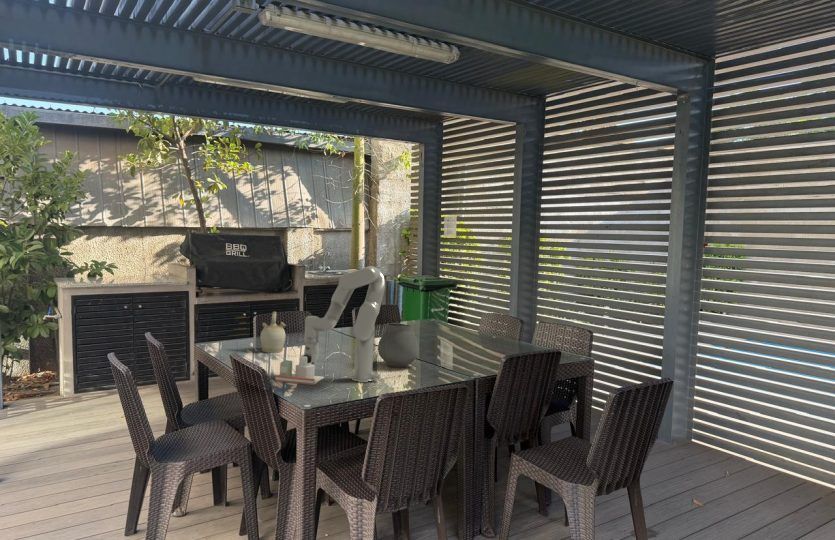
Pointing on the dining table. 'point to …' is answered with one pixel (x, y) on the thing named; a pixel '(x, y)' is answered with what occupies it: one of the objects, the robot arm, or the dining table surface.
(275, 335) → the jug
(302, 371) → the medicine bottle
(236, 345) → the dining table surface
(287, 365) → the tea box
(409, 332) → the ceramic pot
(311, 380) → the cream flat block
